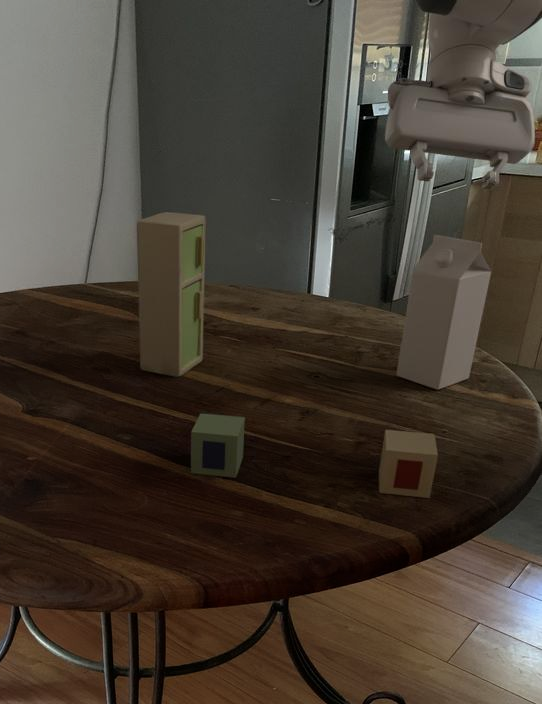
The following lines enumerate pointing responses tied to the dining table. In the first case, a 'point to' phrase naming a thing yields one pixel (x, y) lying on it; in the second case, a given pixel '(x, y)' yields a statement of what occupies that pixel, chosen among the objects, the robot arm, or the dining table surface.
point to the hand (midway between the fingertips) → (458, 183)
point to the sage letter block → (217, 445)
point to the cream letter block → (407, 463)
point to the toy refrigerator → (171, 291)
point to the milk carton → (444, 313)
